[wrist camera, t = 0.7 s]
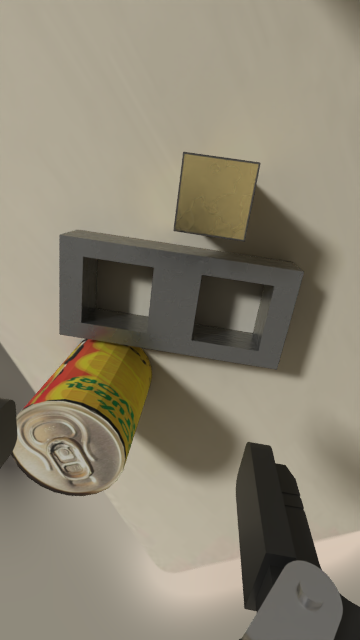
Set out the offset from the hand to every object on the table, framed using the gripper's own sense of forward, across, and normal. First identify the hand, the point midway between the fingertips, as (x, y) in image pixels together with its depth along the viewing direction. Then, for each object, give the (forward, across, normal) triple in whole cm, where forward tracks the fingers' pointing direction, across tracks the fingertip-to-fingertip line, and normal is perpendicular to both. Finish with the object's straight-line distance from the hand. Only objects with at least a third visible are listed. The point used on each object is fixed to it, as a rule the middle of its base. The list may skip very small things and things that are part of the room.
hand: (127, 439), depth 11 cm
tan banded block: (+22, -2, -7) cm, 23 cm away
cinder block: (+22, 0, +2) cm, 22 cm away
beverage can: (+22, +6, +12) cm, 26 cm away
